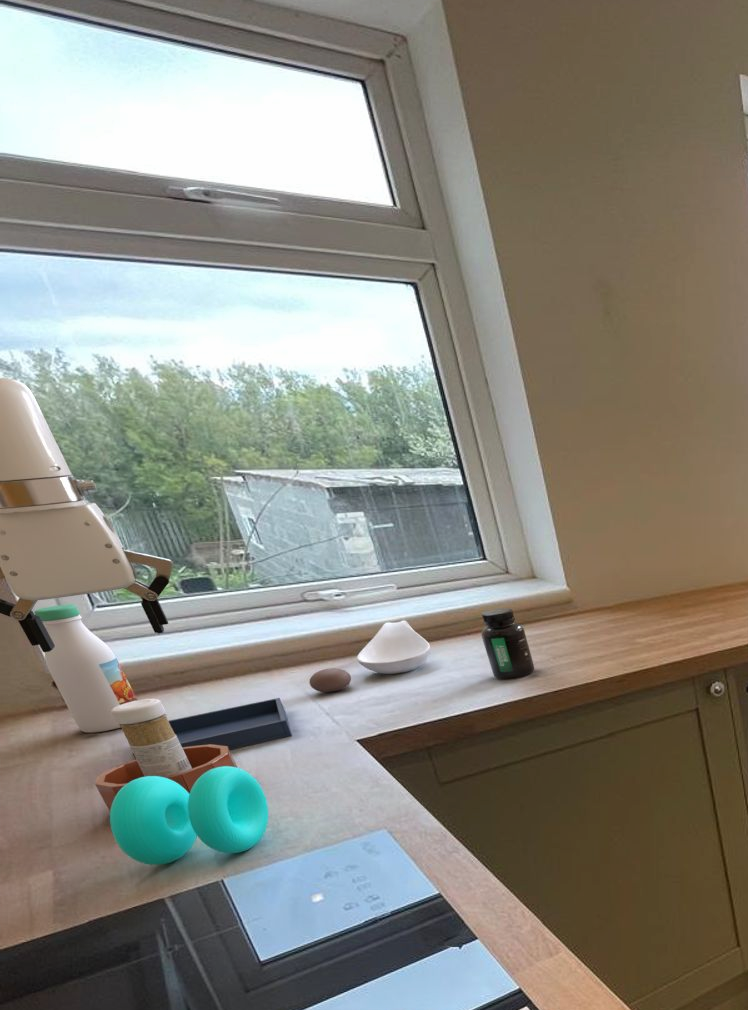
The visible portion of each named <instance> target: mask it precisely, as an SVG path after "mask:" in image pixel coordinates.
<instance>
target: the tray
mask: <svg viewBox="0 0 748 1010" xmlns="http://www.w3.org/2000/svg"><path fill="white" fill-rule="evenodd" d="M168 721H169V723H170V725H171V728H172V729H173V731H174V734H175V735H176V736H177V738H178V740H179V742H180V744H181V746H182V747H190V746H200V745H209V744H213V745H221V746H228V747H229V750H230V751H231V750H235V749H240V748H244V747H248V746H253V745H257V744H261V743H266V742H270V741H274V740H279V739H283V738H288V737H291V736H293V734H292V731H291V727H290V723H289V720H288V715H287V712H286V709H285V707H284V704H283V702H282V700H281V698H280V697H275V698H271V699H266V700H262V701H261V700H260V701H256V702H252V703H247V704H242V705H237V706H233V707H227V708H222V709H219V710H213V711H209V712H204V713H198V714H195V715H189V716H183V717H179V718H174V719H170V720H169V719H168ZM132 757H133V758H134V760H135V759H136V757H135V755H134V753H133V752H132Z"/></svg>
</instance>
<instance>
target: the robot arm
mask: <svg viewBox="0 0 748 1010" xmlns="http://www.w3.org/2000/svg"><path fill="white" fill-rule="evenodd" d="M92 493H99V492H98V488H97V485H96V483H95V482H94V480H83V479H78V478H75V476H74V475H73V474H72V472H71V469H70V468H69V466H68V464H67V461H66V460H65V457H64V456H63V453H62V451H61V449H60V447H59V445H58V443H57V441H56V439H55V437H54V435H53V433H52V430H51V428H50V427H49V424H48V422H47V421H46V417H45V416H44V414H43V412H42V409H41V408H40V405H39V403H38V401H37V400H36V398H35V396H34V394H33V392H32V391H31V389H30V388H29V387H28V386H27V385H26V384H24V383H23V382H21V381H19V380H17V379H13V378H7V377H0V581H2V580H3V579H5V581H6V582H7V584H8V586H9V588H10V590H11V591H12V592H13V594H14V595H15V596H16V597H18V600H17V601H16V603H12V602H9V601H7V600H5V599H2V598H0V614H1V615H4V616H6V617H9V618H11V619H12V620H14V621H17V622H18V623H19V625H20V627H21V629H22V631H23V633H24V635H25V636H26V638H27V639H28V641H29V643H30V645H31V646H32V647H34V646H39V647H40V650H41V651H42V653H45V652H50V651H51V650H53V648H54V647H55V645H54V643H53V641H52V639H51V637H50V635H49V634H48V632H47V630H46V628H45V626H44V624H43V622H42V620H41V619H40V617H39V616H36V615H35V613H34V611H33V609H34V607H35V605H36V604H37V602H38V601H45V600H52V599H60V598H66V597H67V598H68V597H75V596H82V595H89V594H96V593H104V592H110V591H116V590H122V589H124V590H126V591H128V592H130V593H133V594H134V595H136V596H138V597H140V599H141V602H140V605H141V607H142V609H143V611H144V613H145V615H146V617H147V619H148V623H149V624H150V626H151V628H152V630H153V632H154V633H155V634H156V633H157V634H163V633H164V632H165V627H164V625H169V621H168V618H167V616H166V613H165V612H164V610H163V607H162V605H161V603H160V601H159V599H158V598H159V597H160V596H161V594H162V592H163V591H164V590H165V589H166V587H167V586H168V584H169V582H170V578H171V573H172V569H173V565H174V562H173V561H172V559H170V558H165V557H160V556H156V555H151V554H146V553H141V552H137V551H133V550H129V549H125V547H124V545H123V543H122V541H121V540H120V538H119V536H118V534H117V532H116V530H115V529H114V528H113V526H112V524H111V522H110V520H108V518H107V517H106V515H105V514H104V513H103V511H102V509H100V507H99V506H98V505H97V503H96V502H86V501H85V497H86V495H90V494H92ZM134 564H138V565H142V566H147V567H151V568H154V569H155V570H156V572H155V577H154V579H153V580H152V581H151V583H150V584H149V585H148V584H146V583H144V582H142V581H140V580H139V579H137V578H138V574H137V571H136V568H135V566H134Z"/></svg>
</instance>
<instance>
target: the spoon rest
mask: <svg viewBox="0 0 748 1010" xmlns="http://www.w3.org/2000/svg"><path fill="white" fill-rule="evenodd" d="M430 652H431V645H430V643H429V642H428V640H426V639H425V638H424V637H423V636H421V635H420V634H419V633H418V632H416V630H414V629H413V628H412V626H411V625H410V624H409V622H408V621H407V620H406V619H405V620H401V621H398V622H389V621H388V622H385V623H384V624H382V626H381V628H380V629H379V630H378V631H377V632H376V634H375V635H373V637H372V638H371V639H370V641H369V642H368V643H367V644H366V645H365V646H364V647H363V648H362V650H360V652H358V654H357V656H356V661H357V663H358V664H360V665H361V666H362V667H364V668H365V669H367V670H369V671H370V672H371V671H372V672H373V673H374V672H375V673H378V674H383V675H396V674H397V675H398V674H403V673H407V672H411V671H413V670H415V669H417V668H419V667H420V666H421V665H422V664H423V663H425V661H426V660H427V659H428V657H429V655H430Z"/></svg>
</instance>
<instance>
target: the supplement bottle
mask: <svg viewBox="0 0 748 1010" xmlns="http://www.w3.org/2000/svg"><path fill="white" fill-rule="evenodd" d="M481 617H482V619H483V624H484V625H486V626H485V627H484V628H483V629H482V630H481V639H482V641H483V646H484V648H485V652H486V656H487V659H488V662H489V665H490V668H491V672H492V675H493V677H494V678H495V679H497V680H513V679H514V680H515V679H519V678H524V677H527V676H530V675H531V674H533V673H534V671H535V664H534V660H533V657H532V653H531V649H530V646H529V642H528V639H527V635H526V632H525V629H524V627H523V625H521V624H520V623H518V622H515V620H516V618H515V615H514V611H513V610H512V609H511V608H497V609H491V610H487V611H483V612H482V613H481Z"/></svg>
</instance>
